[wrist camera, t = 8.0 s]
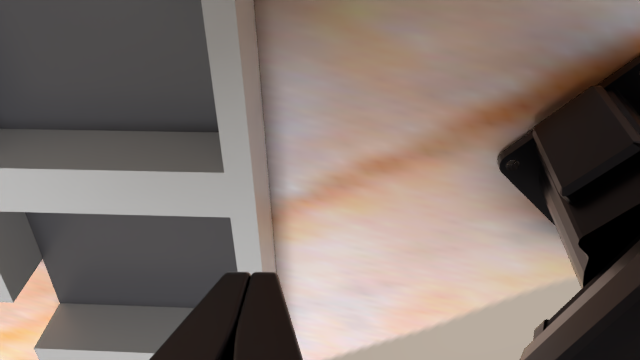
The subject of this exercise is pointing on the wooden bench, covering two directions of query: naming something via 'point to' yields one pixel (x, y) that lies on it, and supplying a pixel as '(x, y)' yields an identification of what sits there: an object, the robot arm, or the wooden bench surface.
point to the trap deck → (129, 164)
